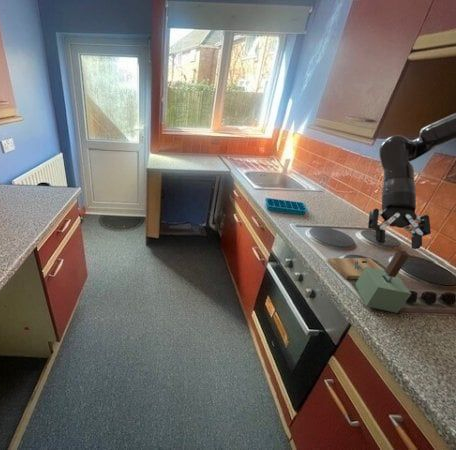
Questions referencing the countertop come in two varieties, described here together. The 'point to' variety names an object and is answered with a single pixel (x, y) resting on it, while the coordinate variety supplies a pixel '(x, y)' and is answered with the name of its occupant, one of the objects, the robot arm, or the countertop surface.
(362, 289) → the grey-green block
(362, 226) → the countertop surface
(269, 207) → the ice cube tray
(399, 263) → the knife
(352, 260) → the cutting board
